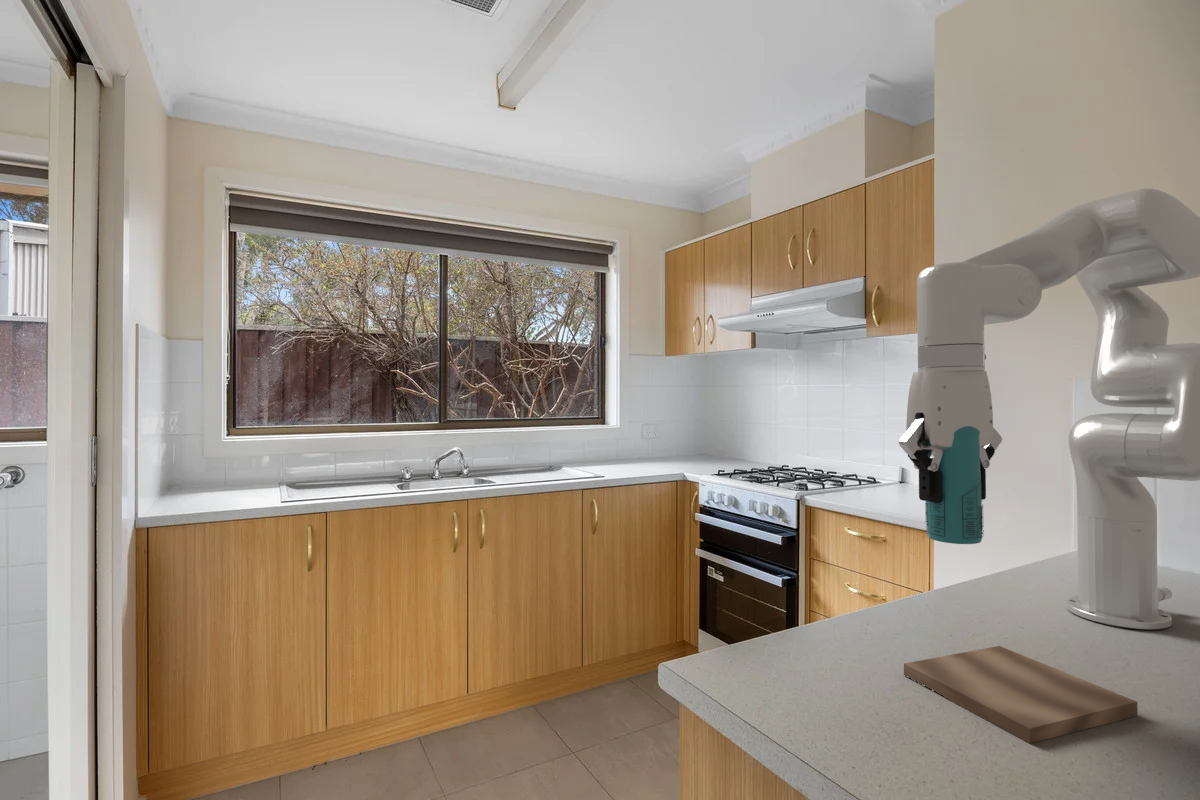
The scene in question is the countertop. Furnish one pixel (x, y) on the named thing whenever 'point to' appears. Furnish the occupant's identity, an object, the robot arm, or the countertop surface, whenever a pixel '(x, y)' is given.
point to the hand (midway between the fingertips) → (952, 498)
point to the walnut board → (1020, 693)
